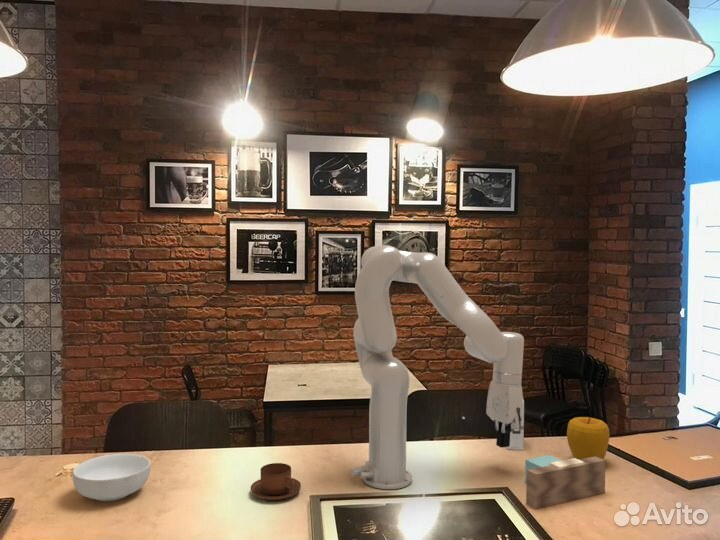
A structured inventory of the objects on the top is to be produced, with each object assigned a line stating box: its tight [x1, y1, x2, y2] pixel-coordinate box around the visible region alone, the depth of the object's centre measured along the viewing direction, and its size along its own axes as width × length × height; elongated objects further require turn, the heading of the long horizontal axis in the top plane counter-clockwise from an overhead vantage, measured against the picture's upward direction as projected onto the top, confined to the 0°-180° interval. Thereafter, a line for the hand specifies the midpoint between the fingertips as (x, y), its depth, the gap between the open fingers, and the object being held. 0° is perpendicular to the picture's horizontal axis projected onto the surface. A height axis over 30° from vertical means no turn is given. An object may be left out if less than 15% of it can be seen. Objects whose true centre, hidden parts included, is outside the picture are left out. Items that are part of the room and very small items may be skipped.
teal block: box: [524, 454, 562, 484], centre depth 141 cm, size 8×10×6 cm
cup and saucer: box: [250, 462, 302, 501], centre depth 136 cm, size 12×12×6 cm
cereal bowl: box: [72, 453, 152, 502], centre depth 134 cm, size 17×17×7 cm
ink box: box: [506, 399, 525, 451], centre depth 172 cm, size 9×5×15 cm, turn 168°
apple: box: [566, 416, 610, 460], centre depth 158 cm, size 11×11×13 cm
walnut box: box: [525, 456, 606, 510], centre depth 134 cm, size 22×3×9 cm, turn 115°
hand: (502, 446), depth 152 cm, fingers closed
